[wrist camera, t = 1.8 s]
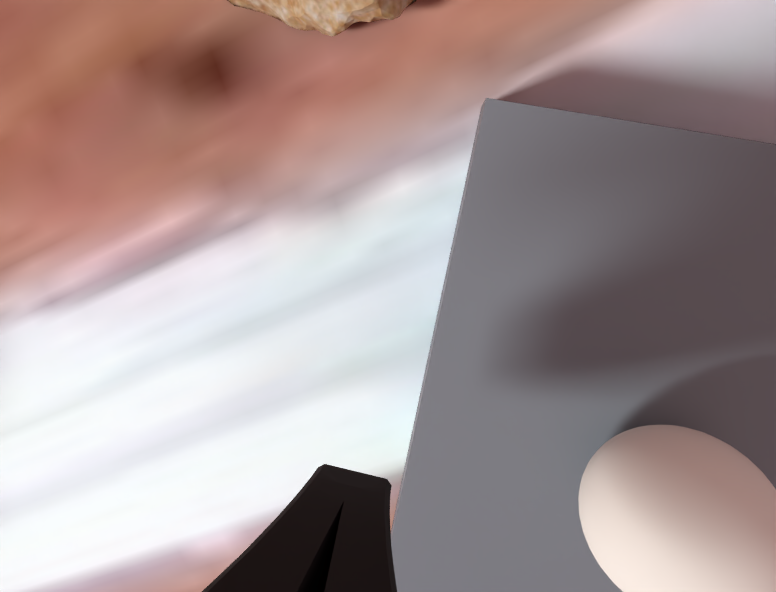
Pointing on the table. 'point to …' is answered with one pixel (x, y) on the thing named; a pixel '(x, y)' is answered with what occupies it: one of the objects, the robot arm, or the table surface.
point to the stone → (326, 12)
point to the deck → (583, 336)
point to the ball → (679, 513)
